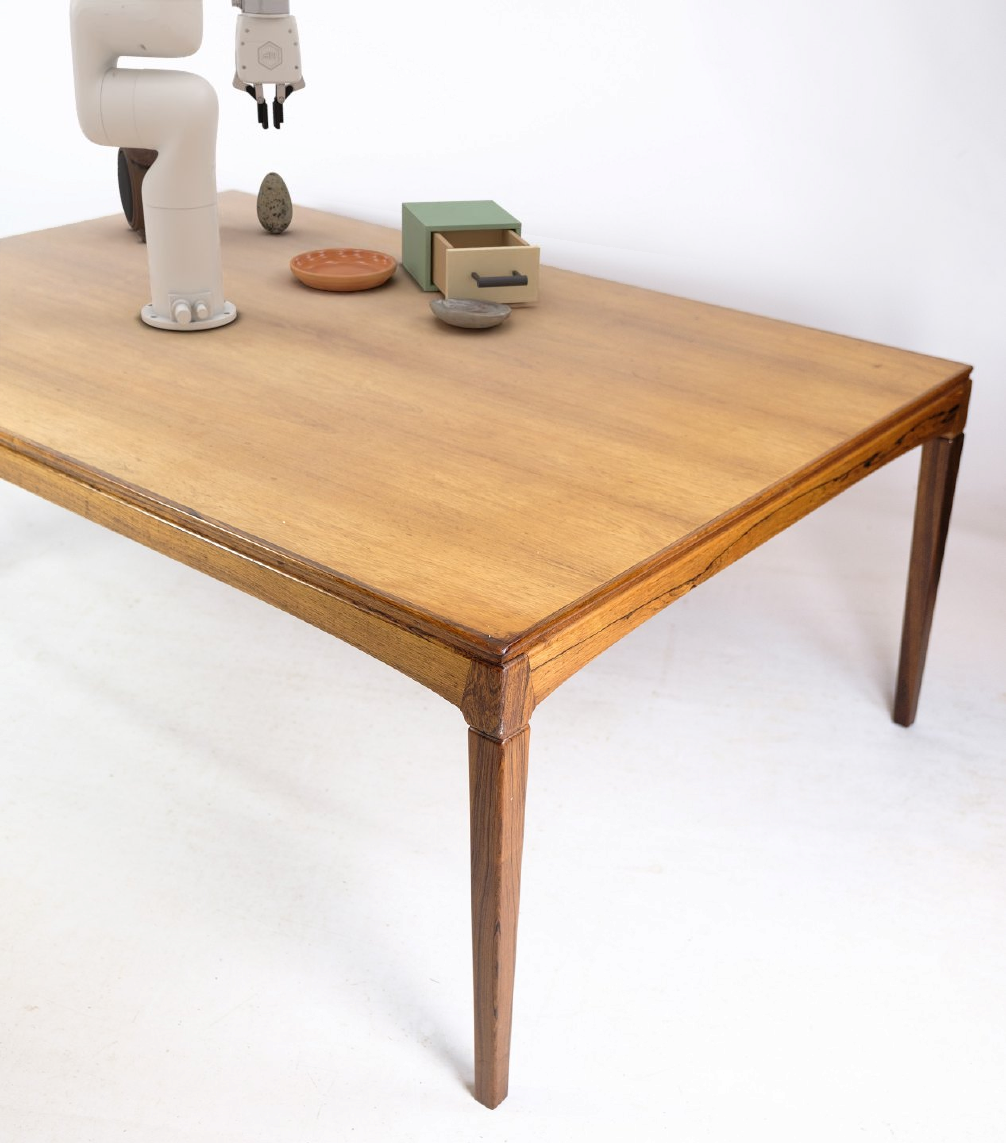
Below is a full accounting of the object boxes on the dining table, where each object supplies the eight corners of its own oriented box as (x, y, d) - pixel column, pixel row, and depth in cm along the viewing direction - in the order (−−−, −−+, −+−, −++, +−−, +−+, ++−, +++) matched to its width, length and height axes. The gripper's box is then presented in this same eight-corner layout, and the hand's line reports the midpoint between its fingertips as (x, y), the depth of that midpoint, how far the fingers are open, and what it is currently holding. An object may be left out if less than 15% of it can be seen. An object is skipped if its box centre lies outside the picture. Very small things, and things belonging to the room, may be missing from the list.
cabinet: (519, 287, 195) (521, 223, 191) (425, 291, 191) (425, 226, 187) (490, 260, 208) (492, 200, 204) (401, 264, 204) (401, 202, 200)
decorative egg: (300, 233, 220) (298, 172, 215) (274, 238, 216) (271, 177, 211) (277, 226, 223) (274, 167, 218) (250, 232, 219) (247, 171, 214)
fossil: (472, 313, 185) (473, 293, 184) (523, 330, 177) (525, 310, 176) (412, 318, 179) (413, 298, 178) (463, 336, 171) (465, 315, 170)
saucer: (281, 292, 188) (280, 272, 187) (300, 264, 202) (299, 245, 201) (391, 297, 188) (391, 277, 186) (402, 268, 202) (401, 249, 201)
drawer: (548, 311, 181) (551, 256, 178) (456, 316, 178) (457, 260, 174) (508, 274, 198) (510, 223, 194) (423, 278, 194) (423, 226, 190)
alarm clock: (117, 227, 219) (104, 103, 210) (160, 224, 222) (149, 101, 212) (134, 247, 207) (121, 117, 198) (179, 244, 210) (168, 115, 201)
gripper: (217, 7, 198) (225, 132, 206) (318, 8, 202) (322, 131, 210) (212, 3, 204) (220, 124, 212) (310, 4, 208) (314, 123, 217)
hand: (271, 127), depth 211 cm, fingers closed
